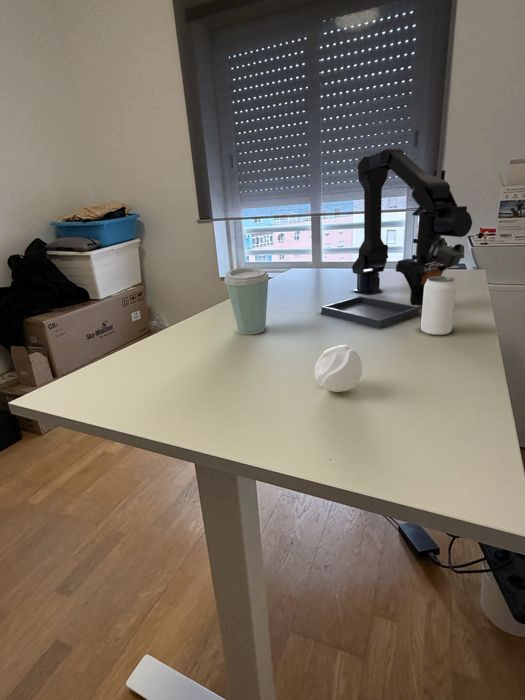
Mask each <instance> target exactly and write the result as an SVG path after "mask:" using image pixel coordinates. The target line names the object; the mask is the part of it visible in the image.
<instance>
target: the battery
mask: <svg viewBox="0 0 525 700" xmlns="http://www.w3.org/2000/svg"><path fill="white" fill-rule="evenodd" d="M429 268H430V269H426V268H425V269H424V271H423V272H427V274H426V275H425V276H424V277H423V278H422V281H421V287H420V292H419V296H418V297H414V296H413V293H412V291H411V290H410V293H409V295H410V296H409V302H410V306H423V294H424V285H425V283H426V282H427V278H428V277H433V276H442V275H441V272H440V270H439V269H436V268H437V266H429Z"/></svg>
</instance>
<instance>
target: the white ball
mask: <svg viewBox="0 0 525 700" xmlns="http://www.w3.org/2000/svg"><path fill="white" fill-rule="evenodd" d="M313 369H314V378H315V380H316V381H317V382H318V384H319V385H320V387H321V388H324V389H325V390H327V391H330V392H333V393H340V392H341V393H342V392H347V391H350V390H351V389H353V388H354V387H355V386H356V385H357V384H358V383H359V381H360V379H361V377H362V375H363V363H362V359H361V356H360V355H359V353H358V352H357V350H356V349H355V348H353V347H351V346H350V345H347V344H340V345H335V346H332V347H330V348H328V349H326V350H324V351H323V352H322V354H321V355H320V357H319V358H318V359H317V361H316V363H315V365H314V367H313Z"/></svg>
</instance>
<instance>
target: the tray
mask: <svg viewBox="0 0 525 700" xmlns="http://www.w3.org/2000/svg"><path fill="white" fill-rule="evenodd" d="M320 307H321V308H320V309H321V314H322V315H324V316H325V315H326V316H329V317H332V318H337V319H341V320H345V321H348V322H352V323H356V324H359V325H360V324H361V325H365V326H368V327H371V328H376V329H379V330H380V329H382V328H385V327H389V326H391V325H395V324H396V323H400V322H403V321H405V320H408V319H410V318H413V317H416V316H418V315H419V314H420V307H419V306H416V305H411V304H410V305H409V304H403V303H399V302H393V301H388V300H383V299H378V298H373V297H369V296H361V295H358V296H355V297H351V298H347V299H344V300H340V301H336V302H333V303H330V304H326V305H323V306H320Z"/></svg>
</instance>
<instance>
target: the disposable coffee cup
mask: <svg viewBox="0 0 525 700" xmlns="http://www.w3.org/2000/svg"><path fill="white" fill-rule="evenodd" d="M269 279H270V276H269V274H268V273H267V272H266V270H264V268H259V267H250V266H244V267H239V268H233V269H230V270H227V272H226V273H225V277H224V281H223V283H224V284H225V286H226V289H227V294H228V296H229V300H230V304H231V308H232V312H233V315H234V320H235V323H236V326H237V330H238V331H239V333H240V334H242V335H257V334H260V333H262V332H264V331H265V327H266V322H267V308H268V307H267V306H268V291H269V290H268V289H269Z"/></svg>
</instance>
